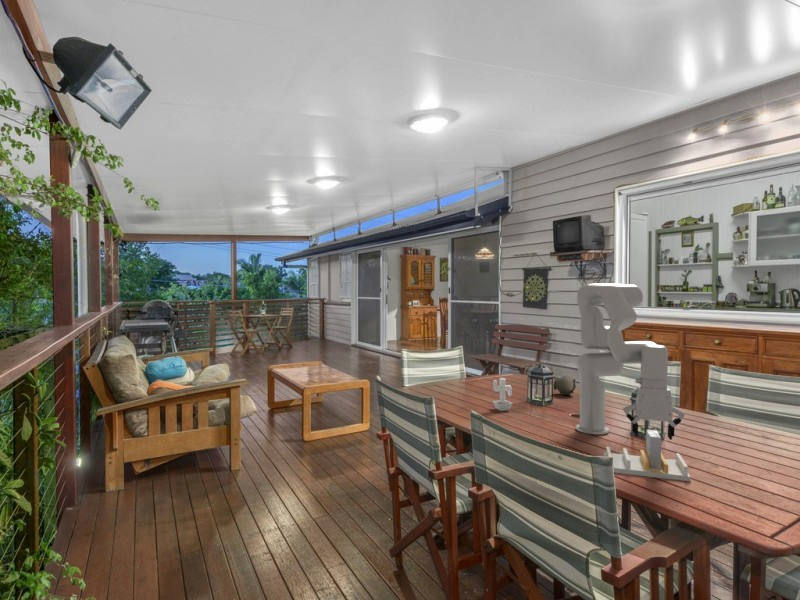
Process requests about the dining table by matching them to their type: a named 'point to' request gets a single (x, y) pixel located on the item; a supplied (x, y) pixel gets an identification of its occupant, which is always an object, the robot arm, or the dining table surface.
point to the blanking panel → (653, 449)
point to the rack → (641, 466)
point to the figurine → (502, 395)
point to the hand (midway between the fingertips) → (652, 436)
